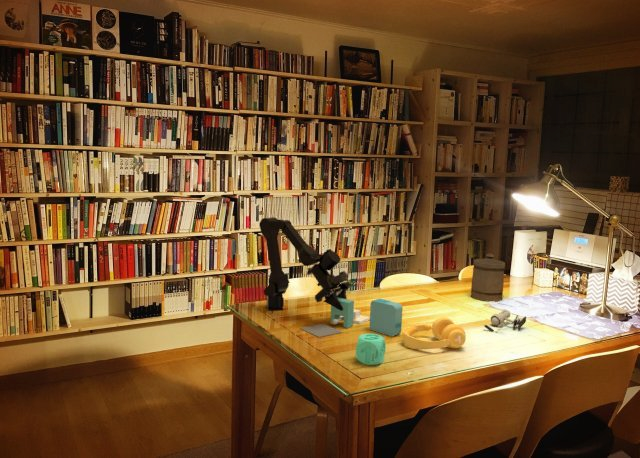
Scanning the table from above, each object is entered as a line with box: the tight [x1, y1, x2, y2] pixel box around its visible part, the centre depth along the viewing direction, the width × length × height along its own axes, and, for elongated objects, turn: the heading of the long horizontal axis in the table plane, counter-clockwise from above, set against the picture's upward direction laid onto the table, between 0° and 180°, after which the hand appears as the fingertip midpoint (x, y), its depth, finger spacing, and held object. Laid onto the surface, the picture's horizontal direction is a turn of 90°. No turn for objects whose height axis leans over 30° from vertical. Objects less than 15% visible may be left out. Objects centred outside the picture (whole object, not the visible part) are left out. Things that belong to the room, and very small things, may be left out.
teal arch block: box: [329, 297, 355, 329], centre depth 219 cm, size 8×4×10 cm, turn 55°
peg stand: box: [332, 308, 370, 325], centre depth 223 cm, size 10×19×4 cm, turn 145°
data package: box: [369, 298, 403, 337], centre depth 212 cm, size 12×4×12 cm, turn 47°
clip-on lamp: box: [482, 309, 527, 333], centre depth 223 cm, size 12×6×18 cm
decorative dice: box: [355, 333, 387, 366], centre depth 182 cm, size 8×8×8 cm
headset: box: [402, 316, 467, 350], centre depth 200 cm, size 18×21×9 cm
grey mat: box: [299, 323, 343, 338], centre depth 212 cm, size 12×11×1 cm
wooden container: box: [470, 253, 506, 302], centre depth 270 cm, size 15×15×22 cm
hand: (345, 309), depth 218 cm, fingers closed on teal arch block, 4 cm apart
